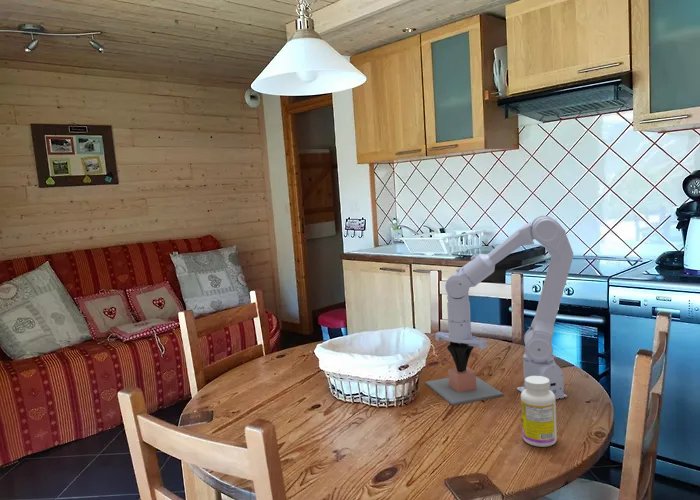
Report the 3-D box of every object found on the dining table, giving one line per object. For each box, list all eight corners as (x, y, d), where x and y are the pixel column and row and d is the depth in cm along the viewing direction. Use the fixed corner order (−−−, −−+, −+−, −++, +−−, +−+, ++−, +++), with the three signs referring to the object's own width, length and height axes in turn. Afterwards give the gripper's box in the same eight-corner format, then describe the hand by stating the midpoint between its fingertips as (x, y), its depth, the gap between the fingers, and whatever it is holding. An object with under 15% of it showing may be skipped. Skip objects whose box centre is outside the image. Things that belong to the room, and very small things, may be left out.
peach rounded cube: (476, 389, 133) (475, 372, 132) (458, 392, 131) (457, 375, 131) (466, 382, 138) (466, 366, 137) (449, 385, 136) (448, 369, 136)
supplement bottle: (529, 430, 110) (527, 371, 109) (561, 437, 106) (559, 376, 104) (517, 442, 105) (514, 381, 103) (550, 451, 100) (548, 387, 99)
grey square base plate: (503, 395, 129) (502, 381, 128) (452, 405, 125) (451, 391, 125) (471, 375, 144) (471, 363, 144) (425, 383, 141) (424, 371, 140)
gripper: (492, 320, 130) (494, 372, 132) (445, 313, 141) (447, 361, 142) (477, 326, 125) (479, 380, 127) (429, 318, 136) (432, 368, 137)
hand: (461, 371), depth 134 cm, fingers closed, pressing on peach rounded cube
